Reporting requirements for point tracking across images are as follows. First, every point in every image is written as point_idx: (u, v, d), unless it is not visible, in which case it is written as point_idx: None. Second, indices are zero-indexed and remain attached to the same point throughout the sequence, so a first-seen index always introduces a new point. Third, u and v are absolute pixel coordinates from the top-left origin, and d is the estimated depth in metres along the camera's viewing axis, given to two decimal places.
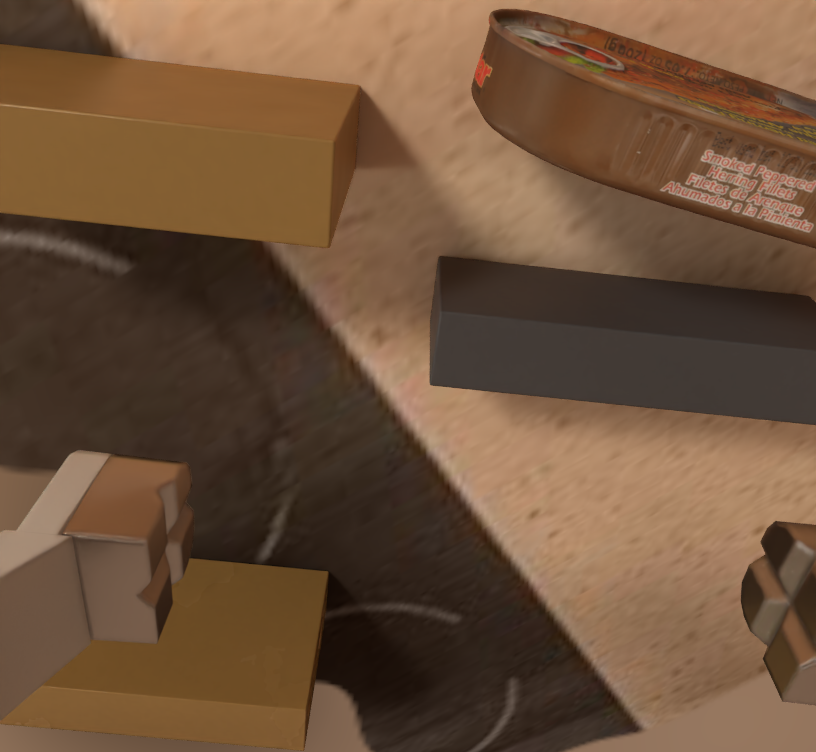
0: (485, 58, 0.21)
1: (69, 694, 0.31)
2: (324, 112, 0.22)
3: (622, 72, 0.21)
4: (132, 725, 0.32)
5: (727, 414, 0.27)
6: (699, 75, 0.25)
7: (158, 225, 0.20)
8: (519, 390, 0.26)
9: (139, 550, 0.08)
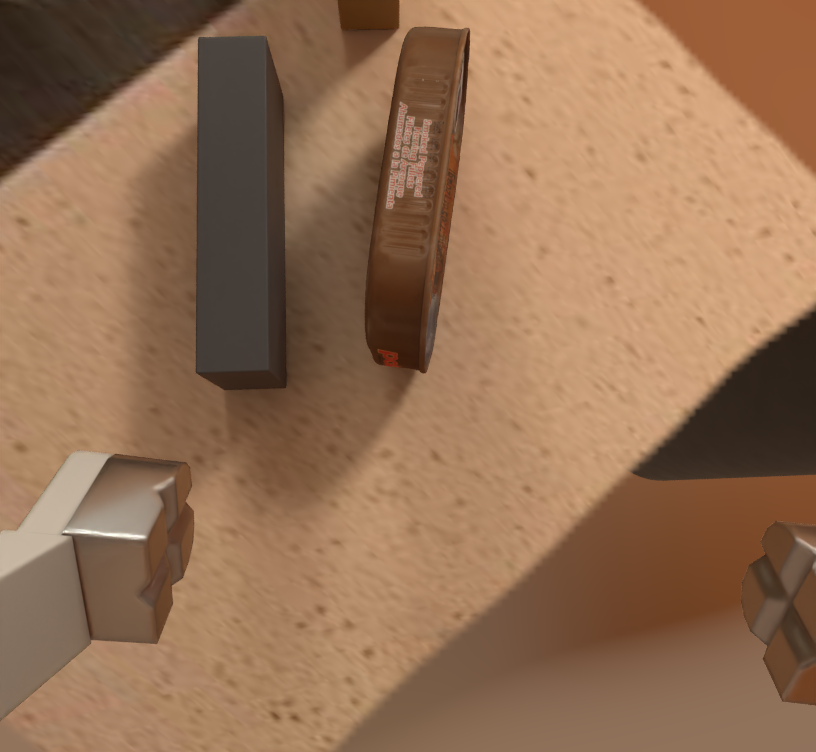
0: None
1: None
2: None
3: None
4: None
5: (196, 277, 0.31)
6: (441, 236, 0.36)
7: None
8: (202, 104, 0.32)
9: (139, 550, 0.08)
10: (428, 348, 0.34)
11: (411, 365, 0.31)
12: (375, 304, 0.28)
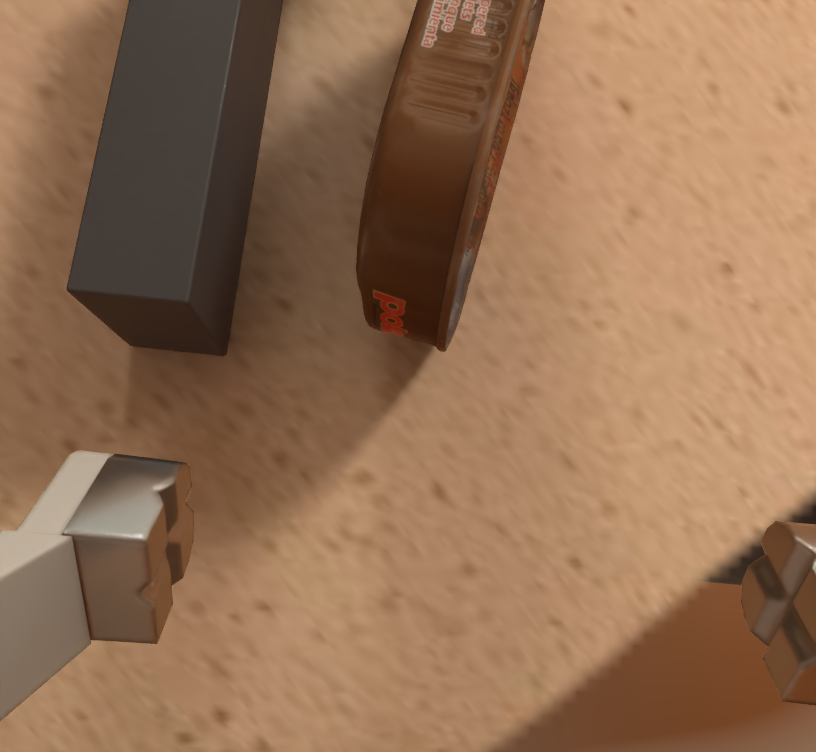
0: None
1: None
2: None
3: None
4: None
5: (98, 144, 0.19)
6: (489, 168, 0.24)
7: None
8: None
9: (139, 550, 0.08)
10: (450, 322, 0.22)
11: (424, 329, 0.19)
12: (380, 203, 0.16)
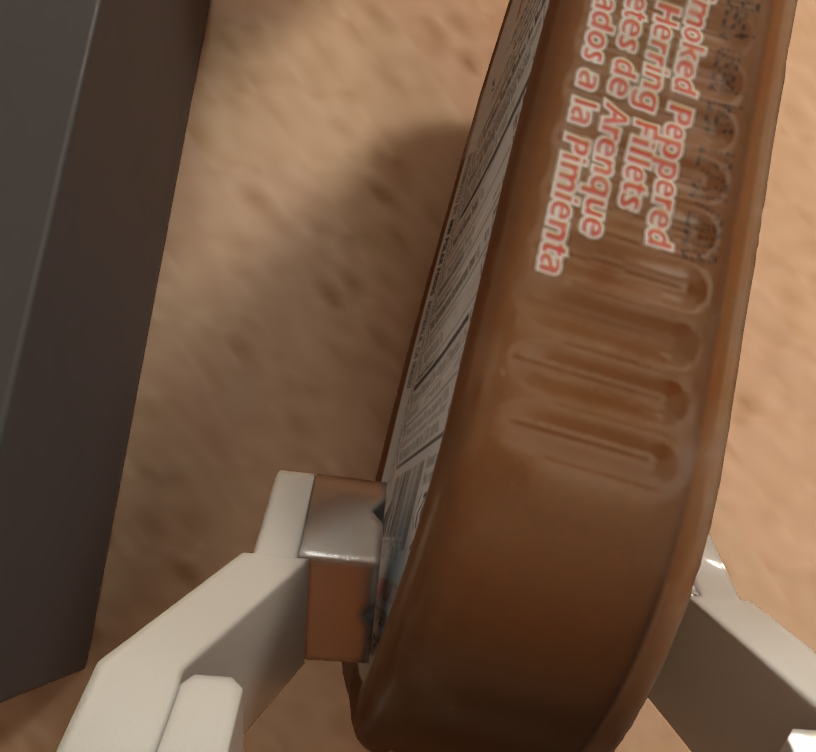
0: None
1: None
2: None
3: None
4: None
5: None
6: None
7: None
8: None
9: (371, 572, 0.08)
10: None
11: None
12: (435, 642, 0.07)
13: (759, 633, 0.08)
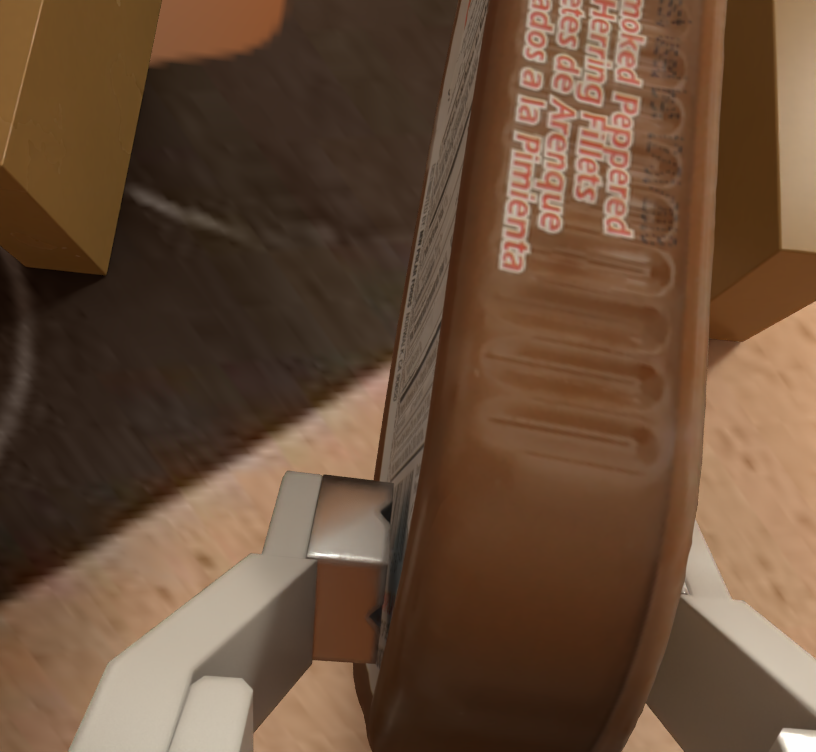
0: None
1: None
2: None
3: None
4: None
5: None
6: None
7: (780, 97, 0.21)
8: None
9: (379, 573, 0.08)
10: None
11: None
12: (438, 648, 0.07)
13: (750, 632, 0.08)
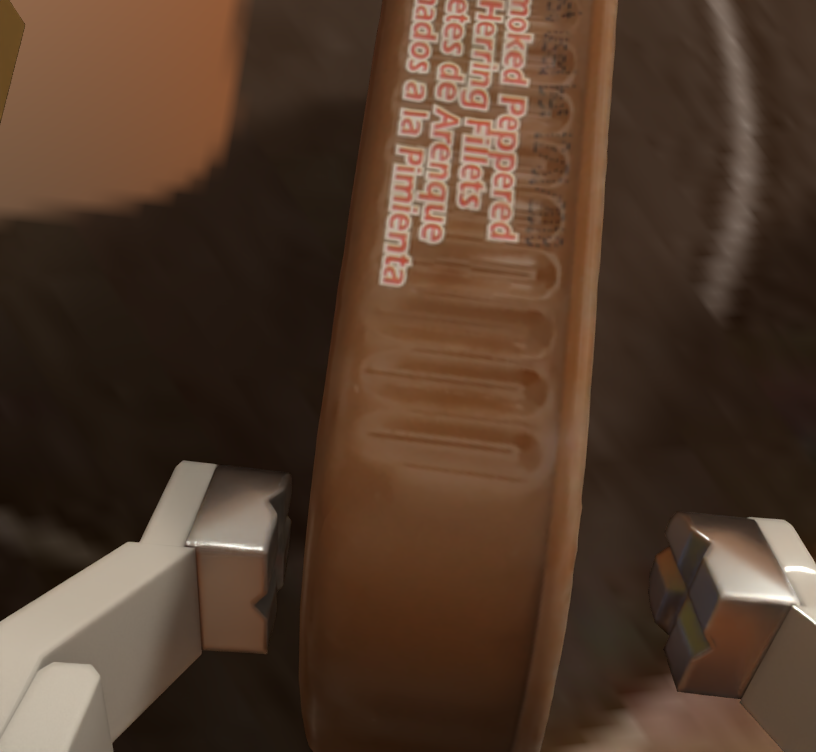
0: None
1: None
2: None
3: None
4: None
5: None
6: None
7: None
8: None
9: (259, 562, 0.08)
10: None
11: None
12: (339, 657, 0.07)
13: None
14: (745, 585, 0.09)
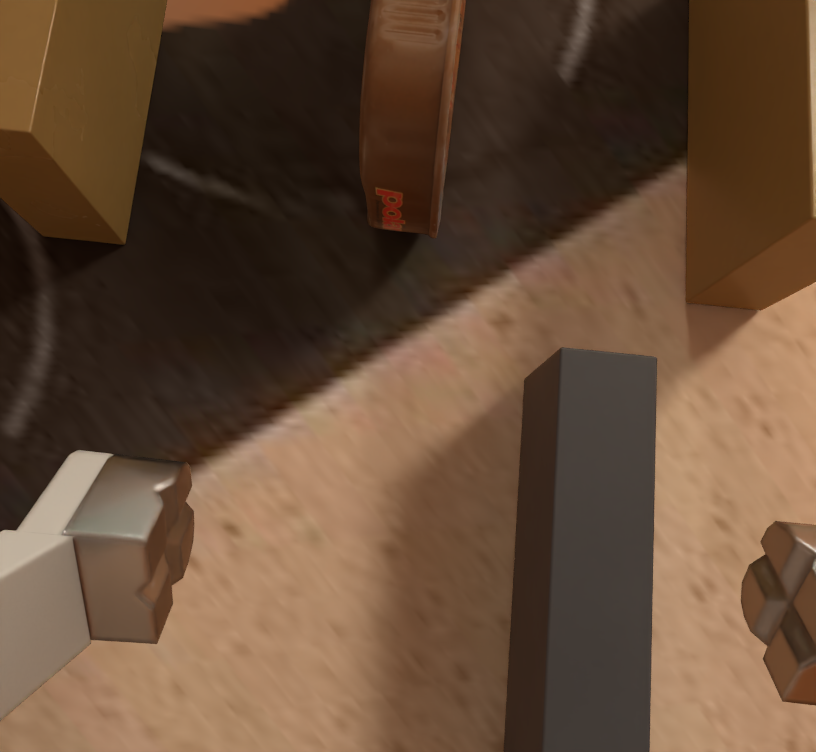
0: None
1: None
2: None
3: None
4: None
5: (541, 735, 0.20)
6: None
7: (813, 63, 0.21)
8: (563, 454, 0.21)
9: (139, 550, 0.08)
10: None
11: (419, 217, 0.23)
12: (374, 114, 0.21)
13: None
14: None
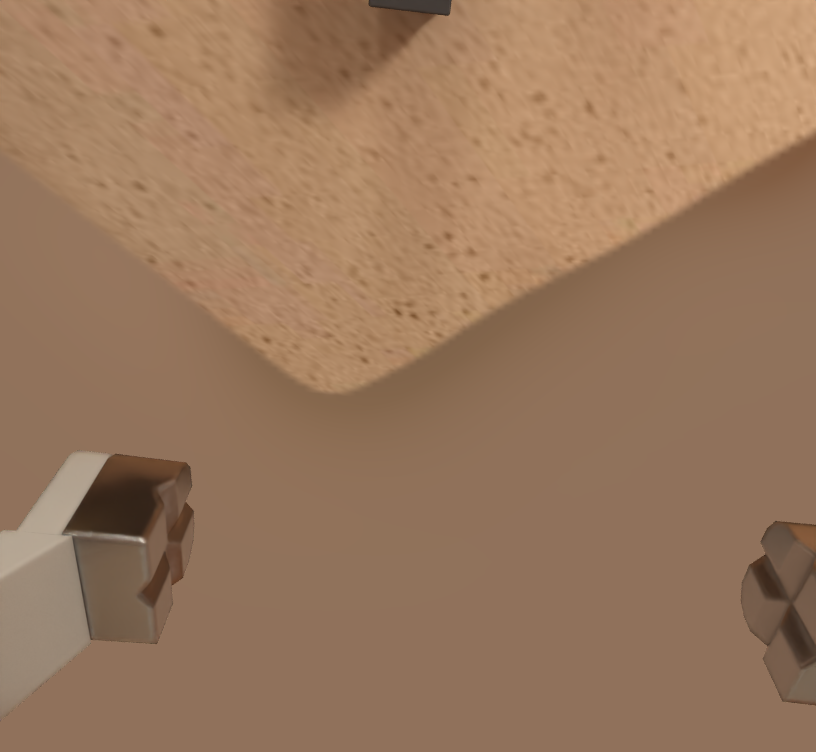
0: None
1: None
2: None
3: None
4: None
5: None
6: None
7: None
8: None
9: (139, 550, 0.08)
10: None
11: None
12: None
13: None
14: None
